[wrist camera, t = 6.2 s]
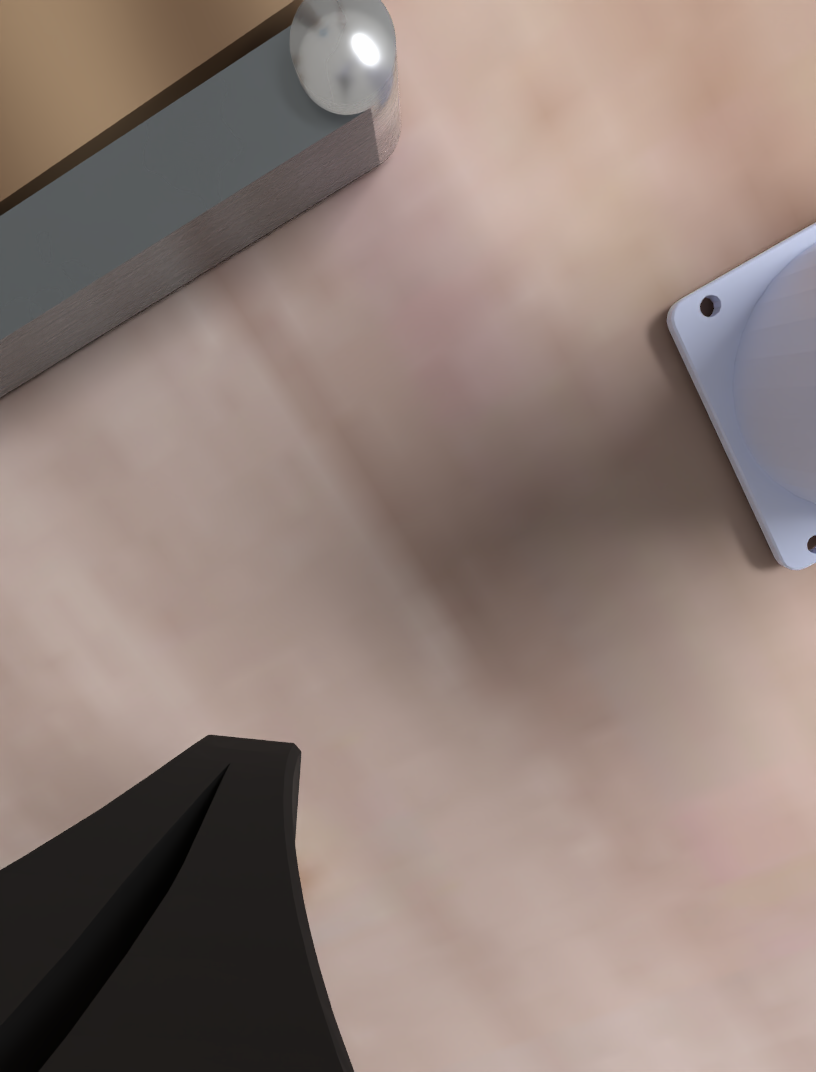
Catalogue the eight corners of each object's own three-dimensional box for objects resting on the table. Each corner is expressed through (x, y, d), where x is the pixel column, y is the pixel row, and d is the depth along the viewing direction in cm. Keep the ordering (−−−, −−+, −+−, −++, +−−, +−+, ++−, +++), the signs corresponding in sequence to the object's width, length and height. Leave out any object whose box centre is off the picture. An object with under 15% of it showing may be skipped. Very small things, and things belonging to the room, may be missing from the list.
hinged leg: (375, 60, 15) (362, -42, 11) (415, 141, 15) (414, 67, 12) (-117, 373, 17) (-255, 366, 13) (-70, 440, 17) (-194, 450, 14)
